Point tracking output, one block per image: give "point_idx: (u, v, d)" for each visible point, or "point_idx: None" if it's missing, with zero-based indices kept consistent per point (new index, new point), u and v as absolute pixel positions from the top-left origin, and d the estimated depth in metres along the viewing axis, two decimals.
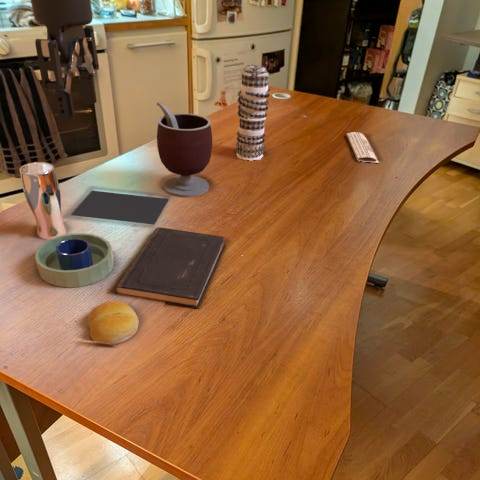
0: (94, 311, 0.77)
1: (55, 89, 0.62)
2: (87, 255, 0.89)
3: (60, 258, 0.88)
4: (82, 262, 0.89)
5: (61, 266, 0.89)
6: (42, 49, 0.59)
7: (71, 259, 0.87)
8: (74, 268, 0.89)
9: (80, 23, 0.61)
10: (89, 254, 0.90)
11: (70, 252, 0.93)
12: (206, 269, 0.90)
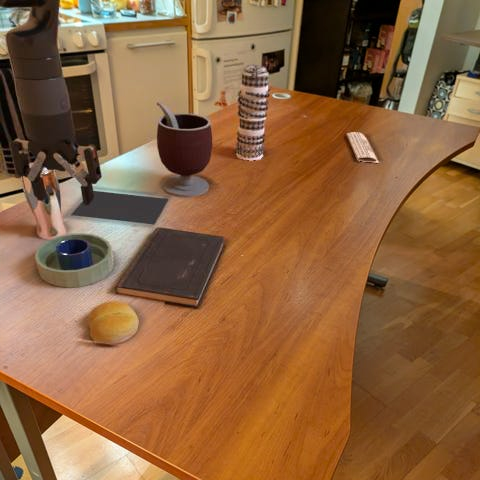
0: (94, 311, 0.77)
1: None
2: (87, 255, 0.89)
3: (60, 258, 0.88)
4: (82, 262, 0.89)
5: (61, 266, 0.89)
6: None
7: (71, 259, 0.87)
8: (74, 268, 0.89)
9: (30, 139, 0.73)
10: (89, 254, 0.90)
11: (70, 252, 0.93)
12: (206, 269, 0.90)
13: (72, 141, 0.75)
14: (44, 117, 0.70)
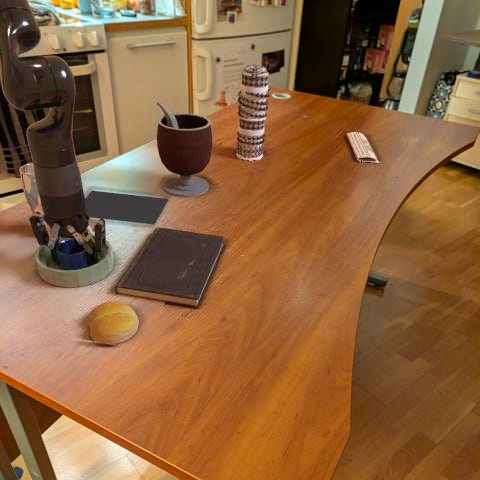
0: (94, 311, 0.77)
1: None
2: None
3: (60, 258, 0.88)
4: (82, 262, 0.89)
5: (61, 266, 0.89)
6: None
7: (71, 259, 0.87)
8: (74, 268, 0.89)
9: (47, 214, 0.82)
10: None
11: (70, 252, 0.93)
12: (206, 269, 0.90)
13: (84, 215, 0.84)
14: (59, 197, 0.79)
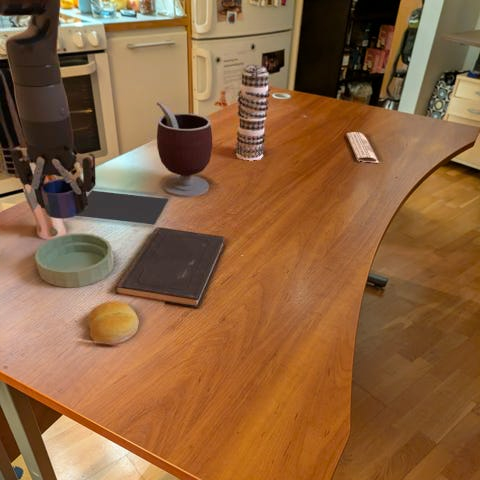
0: (94, 311, 0.77)
1: None
2: None
3: (45, 198, 0.80)
4: (69, 204, 0.81)
5: (46, 208, 0.81)
6: None
7: (57, 200, 0.79)
8: (60, 210, 0.81)
9: (29, 145, 0.74)
10: None
11: None
12: (205, 269, 0.90)
13: (71, 147, 0.76)
14: (42, 123, 0.71)
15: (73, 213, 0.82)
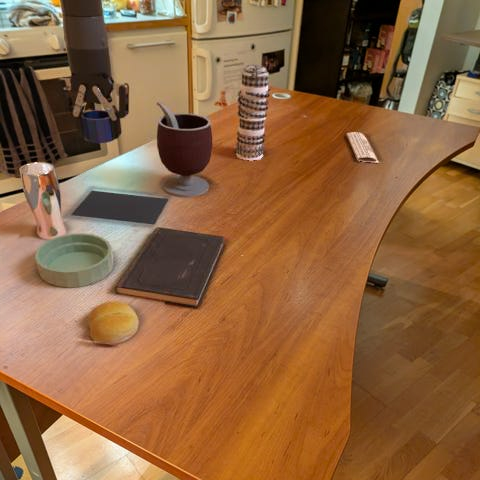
0: (94, 311, 0.77)
1: None
2: None
3: (84, 124, 0.91)
4: (106, 129, 0.92)
5: (85, 134, 0.93)
6: None
7: (95, 125, 0.91)
8: (98, 135, 0.92)
9: (74, 72, 0.85)
10: None
11: None
12: (205, 269, 0.90)
13: (109, 76, 0.87)
14: (86, 51, 0.82)
15: (109, 139, 0.93)
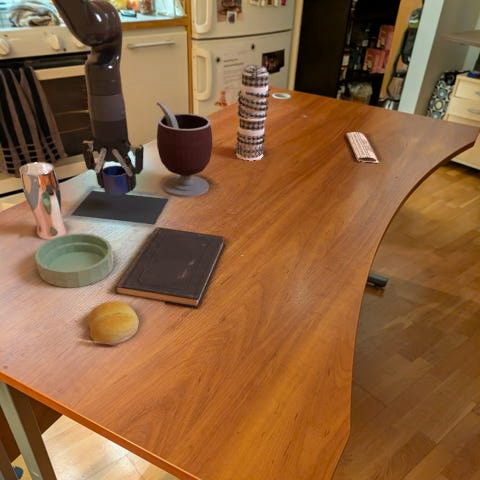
0: (94, 311, 0.77)
1: None
2: None
3: (105, 180, 1.05)
4: (123, 183, 1.06)
5: (105, 187, 1.06)
6: None
7: (114, 180, 1.04)
8: (116, 188, 1.06)
9: (97, 139, 0.99)
10: None
11: None
12: (205, 269, 0.90)
13: (126, 140, 1.01)
14: (108, 122, 0.96)
15: (125, 191, 1.07)
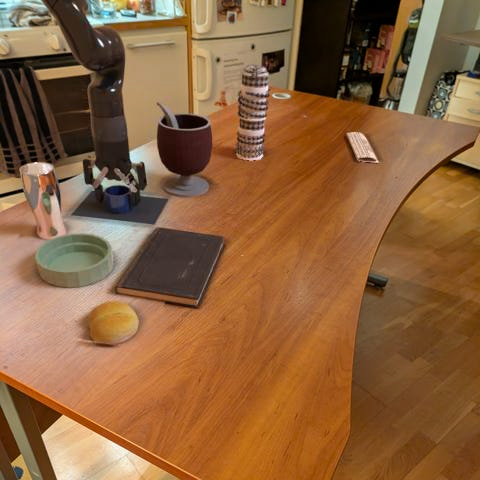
0: (94, 311, 0.77)
1: None
2: (129, 197, 1.09)
3: (107, 199, 1.08)
4: (125, 203, 1.09)
5: (108, 206, 1.09)
6: None
7: (117, 200, 1.07)
8: (119, 208, 1.09)
9: (99, 158, 1.01)
10: (131, 197, 1.10)
11: None
12: (205, 269, 0.90)
13: (128, 159, 1.03)
14: (110, 143, 0.98)
15: (127, 210, 1.10)
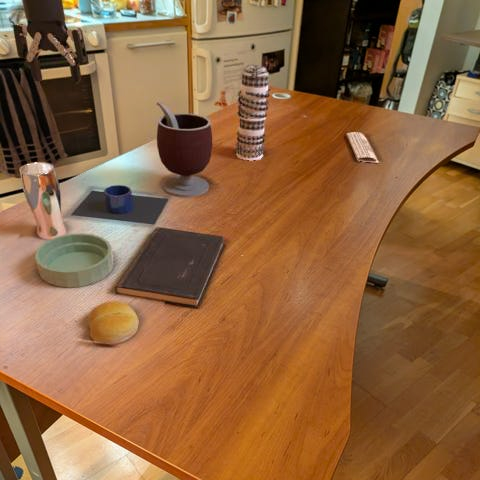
0: (94, 311, 0.77)
1: None
2: (129, 197, 1.09)
3: (107, 199, 1.08)
4: (125, 203, 1.09)
5: (108, 206, 1.09)
6: None
7: (117, 200, 1.07)
8: (119, 208, 1.09)
9: (29, 19, 0.91)
10: (131, 197, 1.10)
11: None
12: (205, 269, 0.90)
13: (63, 24, 0.93)
14: None
15: (127, 210, 1.10)
